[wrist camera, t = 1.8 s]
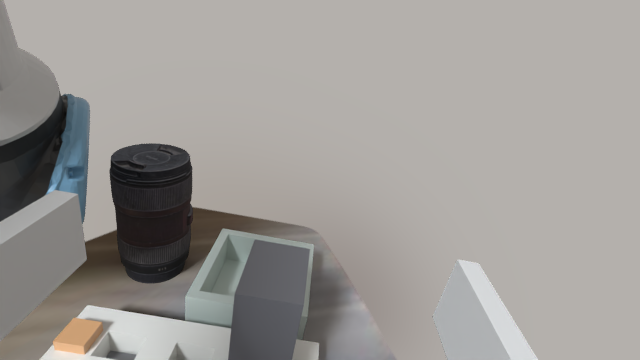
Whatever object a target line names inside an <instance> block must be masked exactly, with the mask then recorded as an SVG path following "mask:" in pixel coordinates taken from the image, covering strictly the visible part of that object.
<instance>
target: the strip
mask: <svg viewBox="0 0 640 360" xmlns="http://www.w3.org/2000/svg"><path fill="white" fill-rule="evenodd" d="M230 335H231V328H225V327H219V326H213V325H207V324H200V323H194V322H188V321H182V320H176V319H170V318H164V317H158V316H151V315H145V314H139V313H133V312H127V311H121V310H115V309H109V308H102V307H96V306H90V305H87V307H86V308H85V309H84V310H83V311H82V312H81V313H80V314H79V316H78V317H77V318H73V319H72V320H71V322H70V323H69V324H68V325H67V326H66V327H65V328H64V329H63V331H62V332H61V333H60V334H59V335H58V336H57V337H56V338H55V340H54V341H53V345H52V346H51V347H50V349H49V350H48V351H47V352H46V353H45V354H44V355H43V356H42V358H41V359H40V360H228V355H229V345H230ZM318 357H319V343H317V342H311V341H305V340H298V339H296V344H295V348H294V353H293V357H292V360H318Z"/></svg>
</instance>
